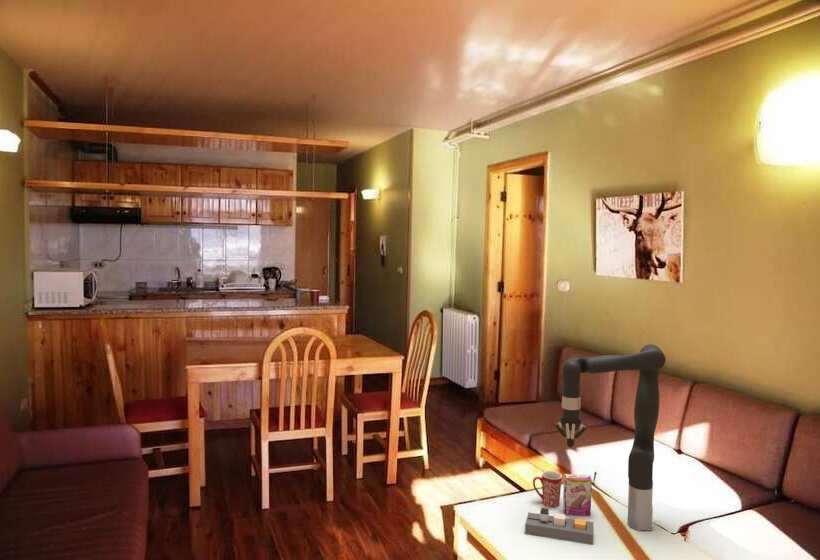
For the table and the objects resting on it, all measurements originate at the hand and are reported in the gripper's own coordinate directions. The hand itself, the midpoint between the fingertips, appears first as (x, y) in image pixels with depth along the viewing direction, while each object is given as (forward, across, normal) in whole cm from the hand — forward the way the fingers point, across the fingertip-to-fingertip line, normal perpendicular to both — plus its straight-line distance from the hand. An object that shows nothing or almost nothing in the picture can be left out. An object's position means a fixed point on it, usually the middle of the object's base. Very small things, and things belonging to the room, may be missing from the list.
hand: (570, 446), depth 241 cm
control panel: (+31, +3, +14) cm, 34 cm away
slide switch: (+29, +9, +14) cm, 33 cm away
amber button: (+28, -5, +14) cm, 32 cm away
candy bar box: (+31, -3, -5) cm, 32 cm away
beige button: (+27, +3, +14) cm, 31 cm away
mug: (+31, +10, -10) cm, 34 cm away
